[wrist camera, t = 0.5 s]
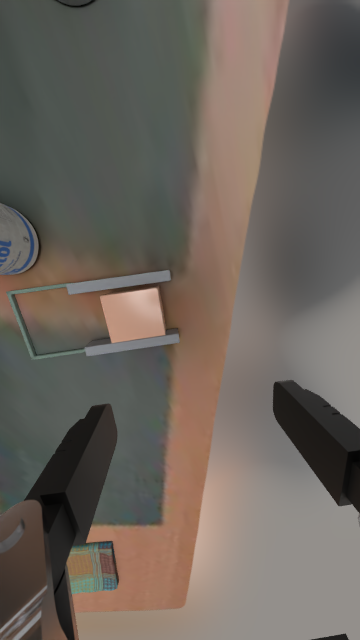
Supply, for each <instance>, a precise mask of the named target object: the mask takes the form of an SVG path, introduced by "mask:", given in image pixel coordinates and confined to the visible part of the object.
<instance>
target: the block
mask: <svg viewBox="0 0 360 640" xmlns="http://www.w3.org/2000/svg"><path fill="white" fill-rule="evenodd" d="M100 299H101V303H102V307H103V311H104V315H105V319H106V323H107V327H108V330H109V334H110V338H111V342H112V343H116V342H123V341H130V340H136V339H143V338H149V337H156V336H162V335H165V332H166V324H165V318H164V312H163V306H162V300H161V294H160V288H159V286H153V287H146V288H139V289H133V290H126V291H119V292H112V293H108V294H105V295H102V296H100Z"/></svg>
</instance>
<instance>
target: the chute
mask: <svg viewBox="0 0 360 640" xmlns="http://www.w3.org/2000/svg"><path fill="white" fill-rule="evenodd" d="M170 280H171V279H170V272H169V270H165V271H158V272H151V273H144V274H137V275H129V276H122V277H115V278H108V279H101V280H93V281H86V282H79V283H72V284H66V287H67V290H68V293H69V295H70V294H77V293H84V292H92V291H99V290H106V289H113V288H120V287H127V286H135V285H142V284H149V283H156V282H163V281H170ZM173 343H180V341H179V334H178V328H176V329H169V330H166V332H165V335H162V336H156V337H149V338H143V339H136V340H130V341H123V342H116V343H112V342H111V338H107V339H101V340H94V341H91V342H90V343H89V344H88V345H87V346H86V347H84V348H85V351H86V355H87V356H92V355H98V354H105V353H112V352H119V351H126V350H132V349H139V348H146V347H153V346H159V345H166V344H173Z"/></svg>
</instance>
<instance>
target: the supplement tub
mask: <svg viewBox="0 0 360 640" xmlns="http://www.w3.org/2000/svg"><path fill="white" fill-rule="evenodd" d="M38 249H39V244H38V238H37V235H36V232H35V230H34V228H33V227H32V225H31V224H30V222H29V221H28V220H27V219H26V218H25V217H24V216H23V215H22V214H21V213H19V212H18V211H16V210H15V209H13V208H11V207H9V206H6V205H4V204H2V203H0V275H13V274H19V273H22V272H24V271H26V270H28V269H29V268H30V267H31V266H32V265H33V264H34V262H35V261H36V258H37V255H38Z"/></svg>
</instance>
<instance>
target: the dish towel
mask: <svg viewBox="0 0 360 640" xmlns="http://www.w3.org/2000/svg"><path fill="white" fill-rule="evenodd" d="M112 542H113V541H105V542H93V543H85V544H82V545H75V546H72V548H71V551H70V554H69V557H68V560H67V567H68V572H69V579H70V586H71V592H72V594H75V593H80V592H96V591H103V590H107V591H109V590H115V589H117V585H118V582H119V580H118V573H117V568H116V560H115V555H114V549H113V544H112Z"/></svg>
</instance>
